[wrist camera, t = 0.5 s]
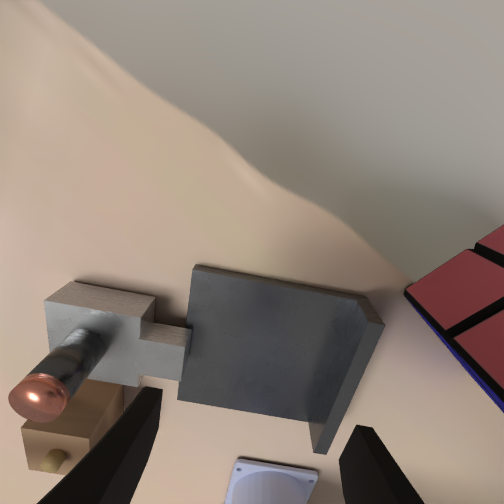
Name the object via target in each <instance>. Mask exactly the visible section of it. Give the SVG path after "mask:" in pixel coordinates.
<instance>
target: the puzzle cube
mask: <svg viewBox="0 0 504 504" xmlns="http://www.w3.org/2000/svg"><path fill="white" fill-rule="evenodd" d="M404 296H405V297H406V299H407V300H408V301H409V302H410V303H411V305H412V306H413V307H414V308H415V309H416V311H417V312H418V313H419V314H420V315H421V317H422V318H423V319H424V320H425V321H426V323H427V324H428V325H429V326H430V327H431V329H432V330H433V331H434V332H435V333H436V335H437V336H438V337H439V338H440V339H441V341H442V342H443V343H444V344H445V345H446V347H447V348H448V349H449V350H450V351H451V353H452V354H453V355H454V356H455V357H456V359H457V360H458V361H459V362H460V363H461V365H462V366H463V367H464V368H465V370H466V371H467V372H468V373H469V374H470V375H471V377H472V378H473V379H474V380H475V381H476V382H477V383H478V384H479V386H480V387H481V388H482V389H483V390H484V391H485V392H486V394H487V395H488V396H489V397H490V398H491V399H492V400H493V401H494V403H495V404H496V405H497V406H498V407H499V408H500V409H501V410H502V412H503V413H504V225H502V226H501V227H499V228H498V229H496V230H495V231H493V232H492V233H490V234H489V235H487V236H486V237H484V238H482V239H481V240H479V241H478V242H477V243H476V244H475V247H474V249H466V250H464V251H463V252H461V253H460V254H458V255H457V256H455V257H453V258H452V259H450V260H449V261H447V262H446V263H445V264H443V265H441V266H440V267H438V268H437V269H435V270H434V271H432V272H431V273H429V274H428V275H426V276H424V277H423V278H422V279H420V280H418V281H417V282H415V283H414V284H412V285H411V286H409V287H408V288H406V289H405V291H404Z"/></svg>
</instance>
